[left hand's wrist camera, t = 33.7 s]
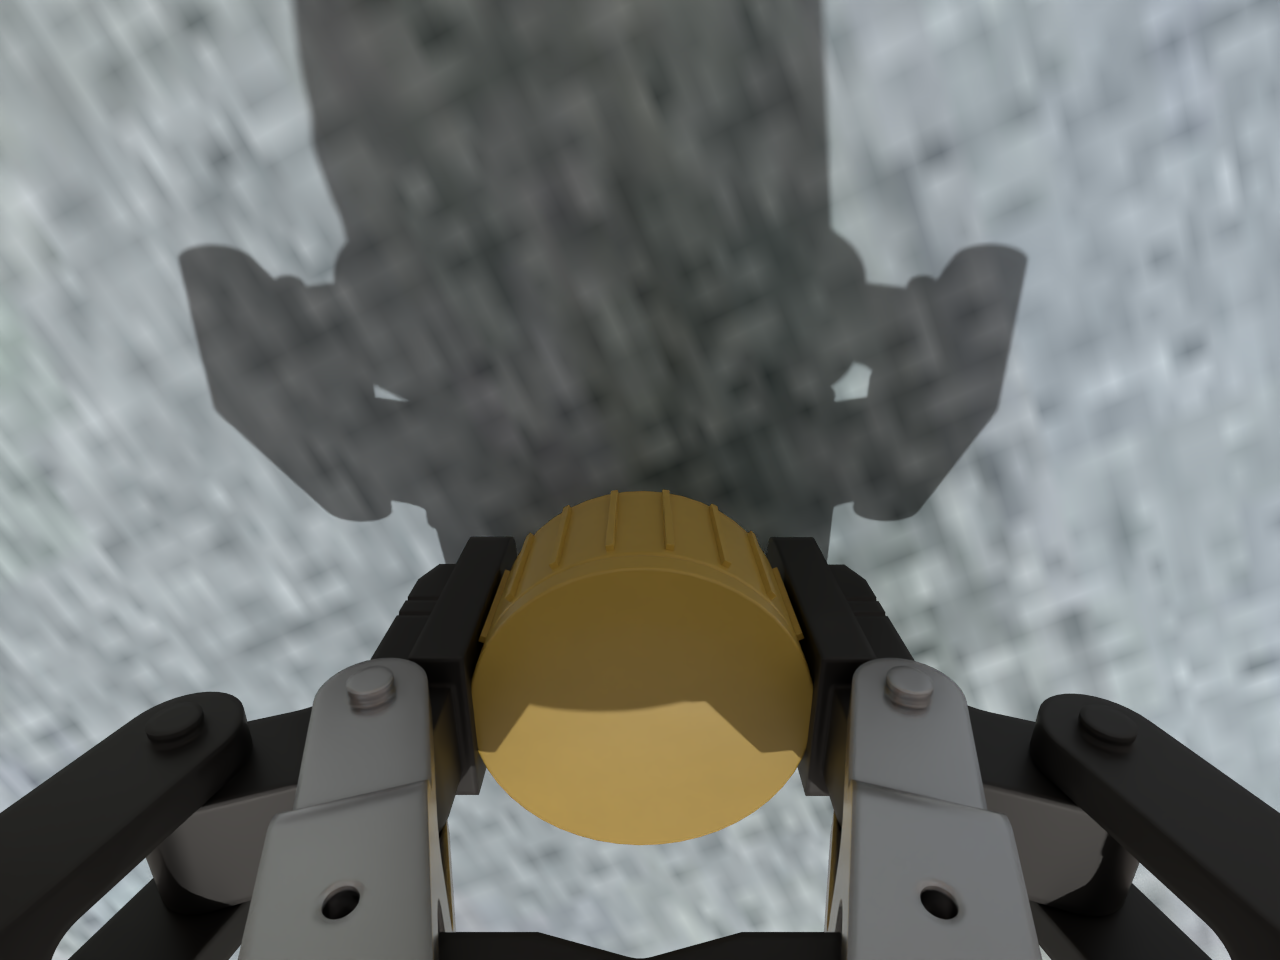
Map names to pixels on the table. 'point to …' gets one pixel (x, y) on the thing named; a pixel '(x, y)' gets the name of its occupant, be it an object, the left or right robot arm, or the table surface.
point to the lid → (641, 672)
